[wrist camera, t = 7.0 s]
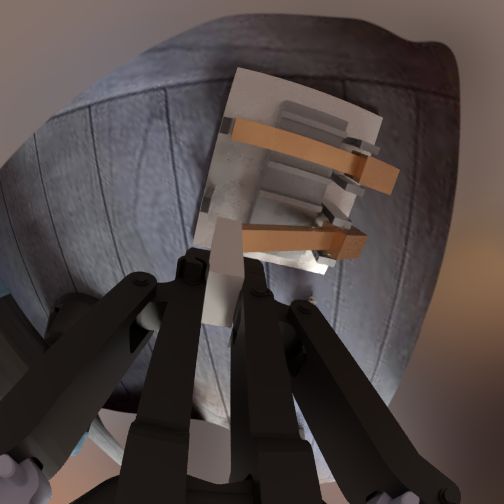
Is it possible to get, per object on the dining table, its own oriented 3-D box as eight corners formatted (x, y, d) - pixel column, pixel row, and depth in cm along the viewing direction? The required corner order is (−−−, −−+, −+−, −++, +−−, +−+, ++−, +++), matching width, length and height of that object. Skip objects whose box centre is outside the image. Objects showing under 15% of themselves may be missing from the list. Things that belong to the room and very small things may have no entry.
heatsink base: (194, 240, 35) (184, 267, 29) (237, 68, 26) (236, 56, 20) (322, 270, 37) (335, 299, 32) (379, 117, 29) (407, 120, 23)
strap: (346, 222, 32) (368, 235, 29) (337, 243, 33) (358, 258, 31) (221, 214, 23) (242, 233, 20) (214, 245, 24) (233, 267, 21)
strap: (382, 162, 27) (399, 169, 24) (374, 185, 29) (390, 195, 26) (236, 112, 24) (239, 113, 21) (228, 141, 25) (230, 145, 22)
